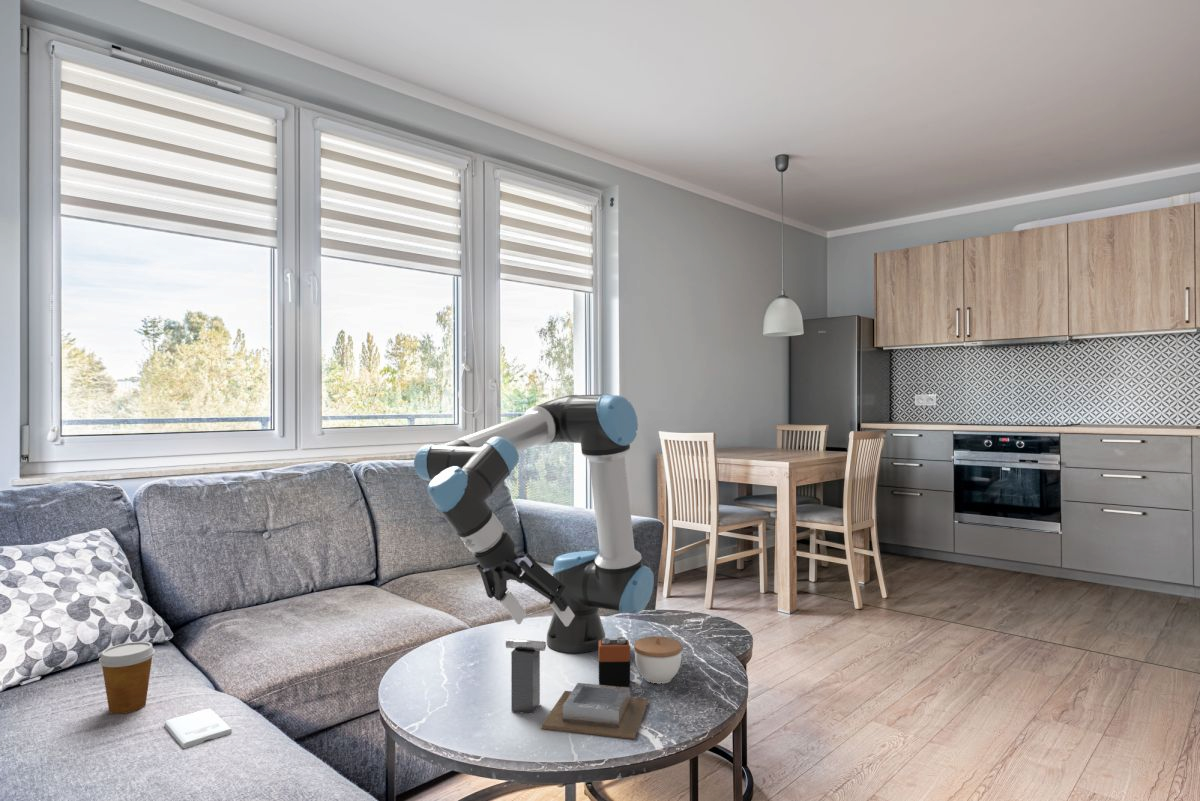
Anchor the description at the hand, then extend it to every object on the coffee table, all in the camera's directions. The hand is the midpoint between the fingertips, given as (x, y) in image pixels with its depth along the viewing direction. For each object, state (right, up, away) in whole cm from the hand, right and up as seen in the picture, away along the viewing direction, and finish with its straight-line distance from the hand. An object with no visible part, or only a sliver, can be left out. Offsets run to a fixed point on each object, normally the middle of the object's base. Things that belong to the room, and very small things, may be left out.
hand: (545, 620), depth 139 cm
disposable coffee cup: (-86, -20, +5) cm, 88 cm away
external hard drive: (-66, -20, -5) cm, 69 cm away
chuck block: (+10, -19, +1) cm, 22 cm away
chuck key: (-4, -19, +4) cm, 20 cm away
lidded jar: (+24, -19, +19) cm, 36 cm away
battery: (+14, -19, +17) cm, 29 cm away
